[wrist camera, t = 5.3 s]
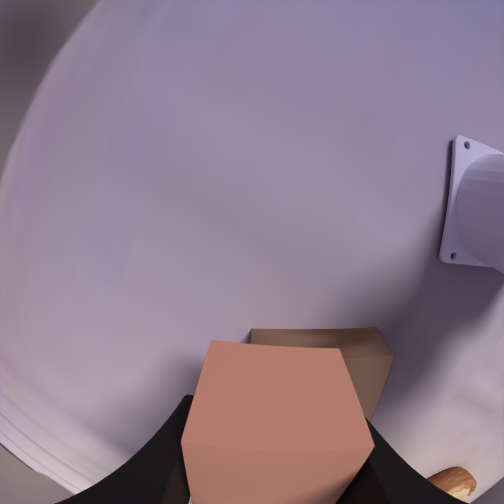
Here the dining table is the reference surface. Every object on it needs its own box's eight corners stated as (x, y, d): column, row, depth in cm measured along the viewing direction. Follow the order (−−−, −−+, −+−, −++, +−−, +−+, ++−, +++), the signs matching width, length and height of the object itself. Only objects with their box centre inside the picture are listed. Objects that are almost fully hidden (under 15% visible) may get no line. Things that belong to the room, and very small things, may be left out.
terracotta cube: (339, 348, 10) (374, 446, 5) (314, 428, 11) (326, 513, 6) (210, 340, 10) (180, 441, 5) (210, 422, 11) (193, 508, 7)
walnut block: (375, 325, 17) (394, 355, 14) (351, 410, 19) (361, 441, 16) (251, 326, 18) (249, 359, 14) (250, 413, 20) (247, 447, 16)
